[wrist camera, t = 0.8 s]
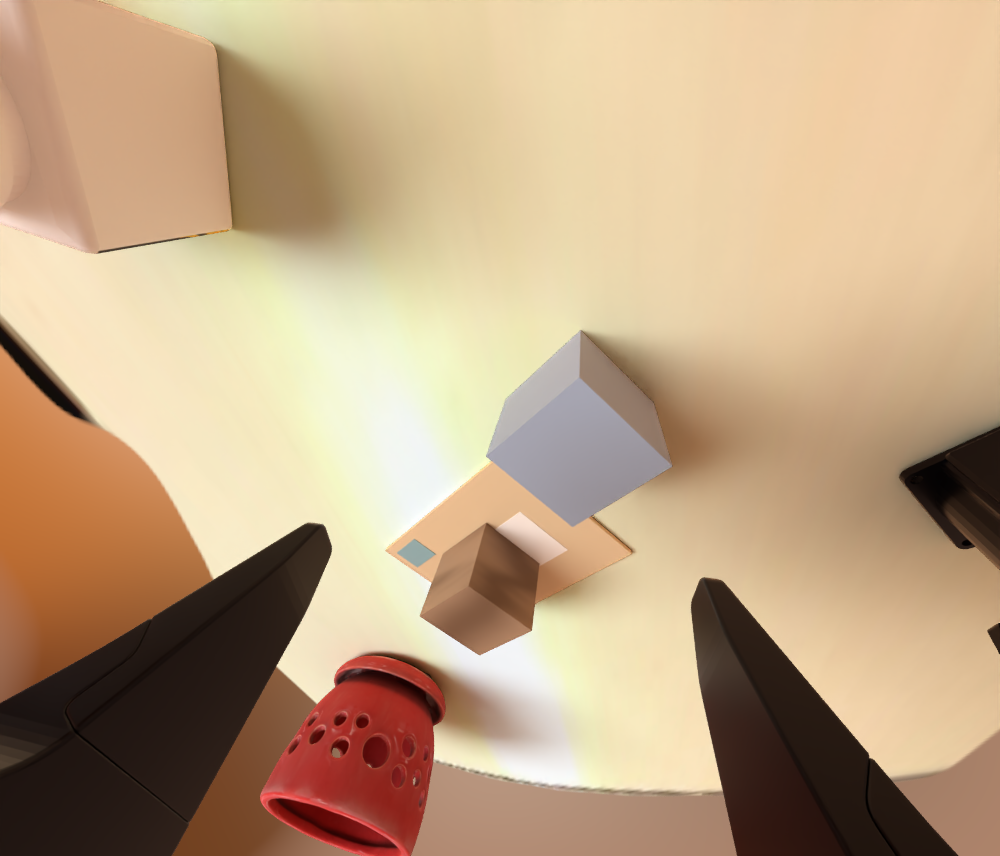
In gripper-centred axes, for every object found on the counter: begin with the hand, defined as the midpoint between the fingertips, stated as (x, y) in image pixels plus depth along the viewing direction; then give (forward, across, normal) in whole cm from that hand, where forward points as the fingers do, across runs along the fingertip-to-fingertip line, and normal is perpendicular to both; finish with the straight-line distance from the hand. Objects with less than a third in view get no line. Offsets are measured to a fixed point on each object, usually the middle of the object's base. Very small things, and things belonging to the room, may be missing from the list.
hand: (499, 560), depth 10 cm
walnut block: (+13, +3, +16) cm, 20 cm away
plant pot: (+13, +14, +37) cm, 42 cm away
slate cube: (+13, -2, +3) cm, 14 cm away
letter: (+13, +3, +15) cm, 20 cm away
